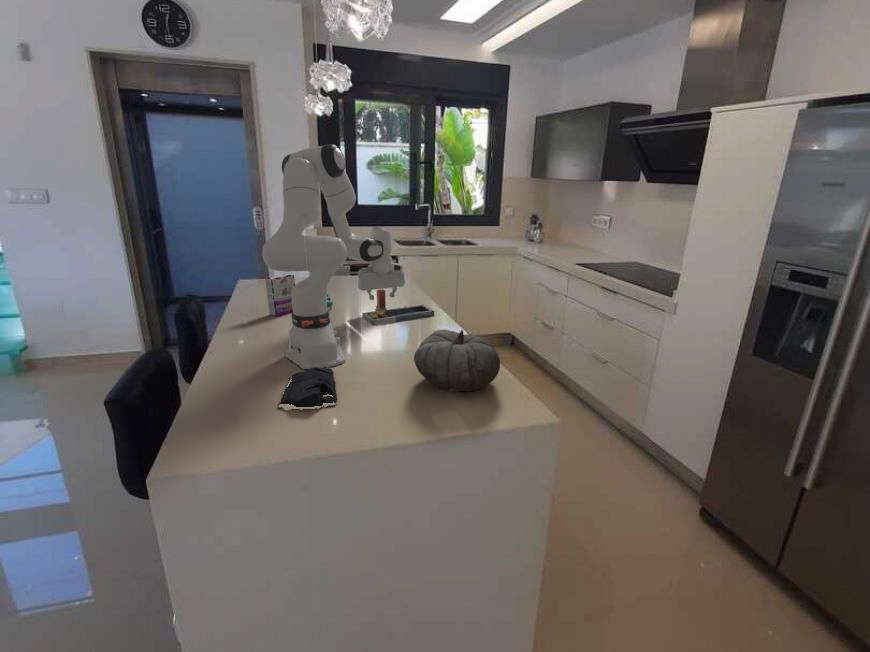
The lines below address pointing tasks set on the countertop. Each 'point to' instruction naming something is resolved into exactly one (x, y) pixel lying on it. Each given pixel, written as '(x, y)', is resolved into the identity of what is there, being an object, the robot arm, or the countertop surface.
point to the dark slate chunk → (310, 388)
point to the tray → (378, 321)
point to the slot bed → (410, 312)
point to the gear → (329, 303)
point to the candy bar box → (280, 293)
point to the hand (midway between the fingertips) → (382, 298)
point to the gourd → (457, 361)
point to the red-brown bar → (381, 300)
